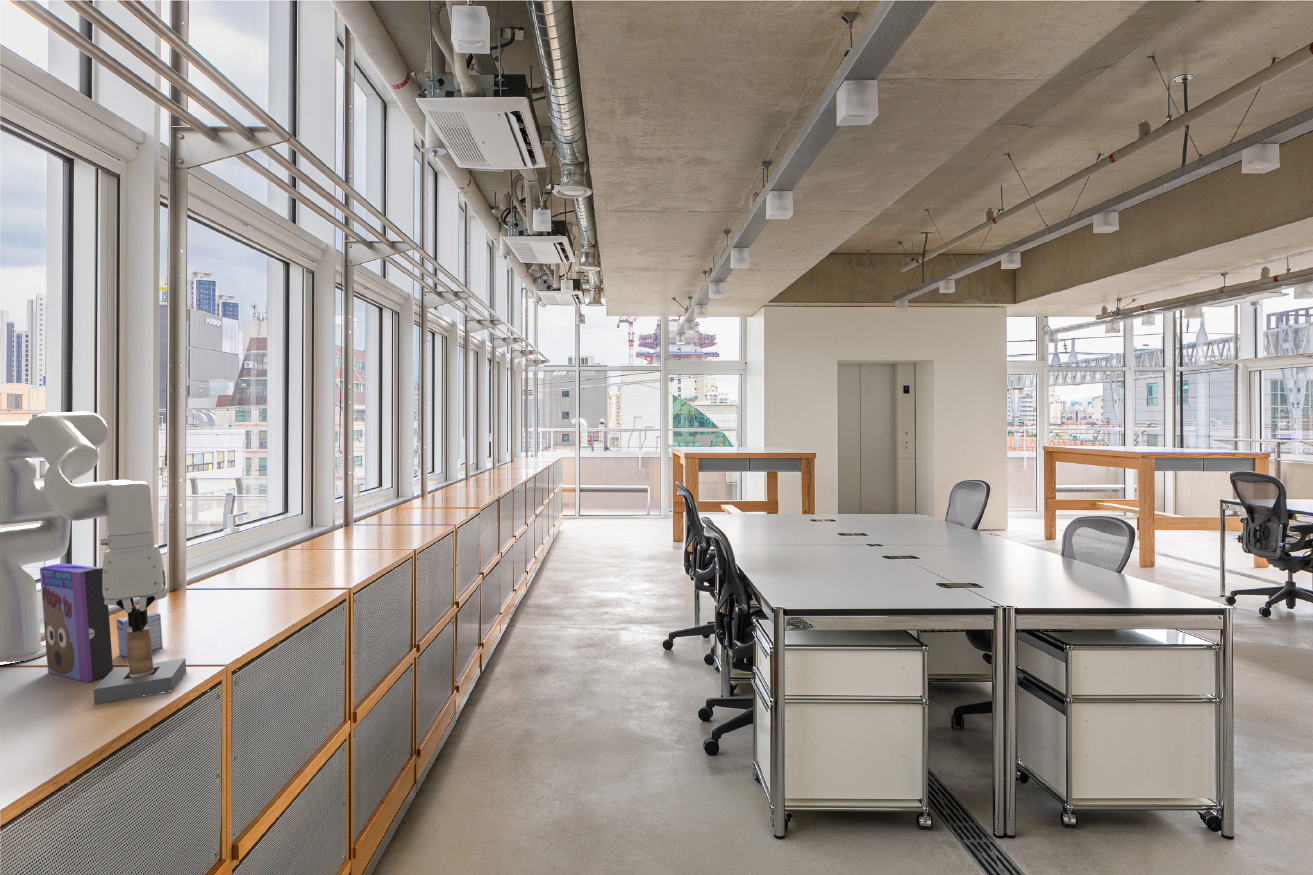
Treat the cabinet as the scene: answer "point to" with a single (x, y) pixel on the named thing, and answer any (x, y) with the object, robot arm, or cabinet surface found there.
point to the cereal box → (76, 622)
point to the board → (139, 682)
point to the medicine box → (153, 624)
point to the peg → (140, 653)
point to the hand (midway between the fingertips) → (138, 629)
